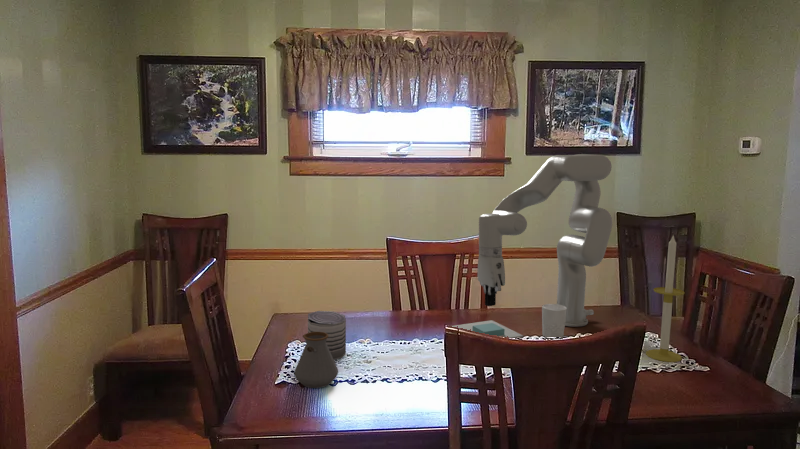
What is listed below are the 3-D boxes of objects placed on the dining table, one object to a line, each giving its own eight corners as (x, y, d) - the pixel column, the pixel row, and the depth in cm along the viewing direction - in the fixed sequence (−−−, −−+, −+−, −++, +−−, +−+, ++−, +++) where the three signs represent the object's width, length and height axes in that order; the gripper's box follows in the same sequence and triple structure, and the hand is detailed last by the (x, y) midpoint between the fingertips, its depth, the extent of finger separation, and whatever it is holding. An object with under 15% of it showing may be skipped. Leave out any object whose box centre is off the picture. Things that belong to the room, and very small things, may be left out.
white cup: (567, 340, 188) (569, 310, 186) (543, 339, 188) (545, 310, 187) (561, 332, 196) (563, 303, 194) (538, 332, 196) (539, 303, 194)
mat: (491, 321, 206) (491, 320, 206) (522, 337, 190) (522, 335, 190) (445, 328, 198) (445, 326, 198) (474, 345, 182) (474, 343, 182)
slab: (492, 322, 197) (504, 328, 190) (492, 328, 197) (504, 334, 191) (472, 325, 193) (484, 331, 187) (472, 331, 194) (484, 337, 187)
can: (323, 344, 181) (323, 307, 179) (353, 352, 175) (353, 313, 173) (299, 356, 171) (299, 317, 169) (330, 364, 165) (330, 323, 163)
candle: (685, 363, 169) (696, 237, 164) (649, 360, 171) (659, 235, 166) (676, 351, 179) (686, 232, 174) (642, 348, 181) (651, 230, 176)
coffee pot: (298, 373, 158) (297, 320, 156) (340, 373, 158) (339, 320, 156) (284, 408, 137) (283, 348, 135) (332, 409, 137) (332, 348, 135)
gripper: (513, 254, 184) (513, 309, 187) (486, 246, 198) (486, 298, 201) (494, 256, 181) (493, 312, 184) (468, 248, 195) (468, 301, 197)
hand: (490, 305), depth 192 cm, fingers closed
